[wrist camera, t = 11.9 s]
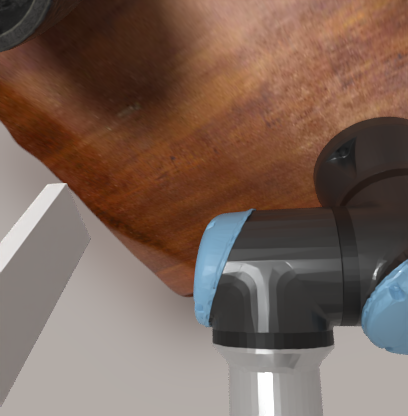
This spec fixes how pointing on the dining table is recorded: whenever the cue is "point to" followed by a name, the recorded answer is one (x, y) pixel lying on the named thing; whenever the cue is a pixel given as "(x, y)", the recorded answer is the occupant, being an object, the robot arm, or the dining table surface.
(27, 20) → the planter
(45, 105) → the dining table surface
